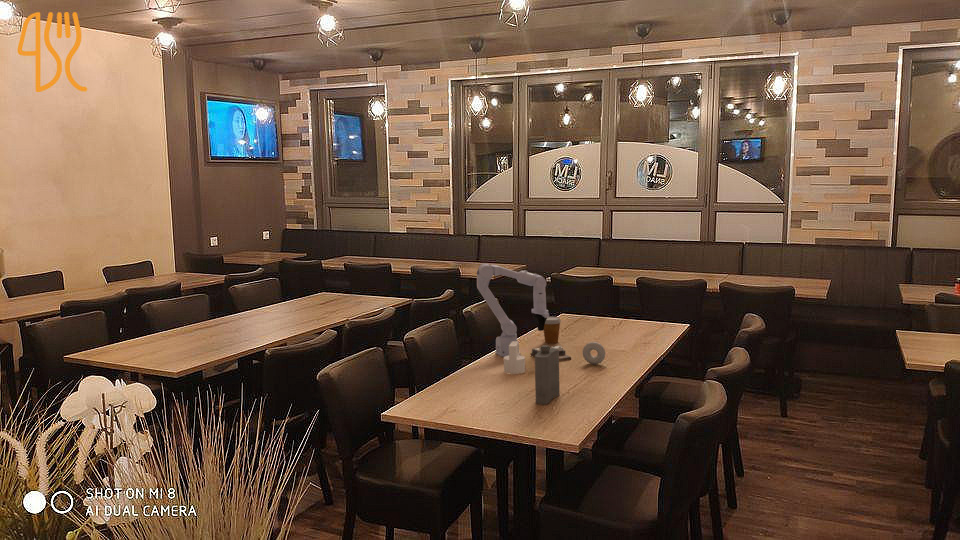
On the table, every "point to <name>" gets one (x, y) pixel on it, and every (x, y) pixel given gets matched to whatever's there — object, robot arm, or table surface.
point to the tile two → (558, 348)
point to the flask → (546, 374)
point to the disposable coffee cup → (552, 329)
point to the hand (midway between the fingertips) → (540, 330)
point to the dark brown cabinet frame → (561, 355)
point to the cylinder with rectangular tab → (514, 360)
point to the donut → (589, 357)
